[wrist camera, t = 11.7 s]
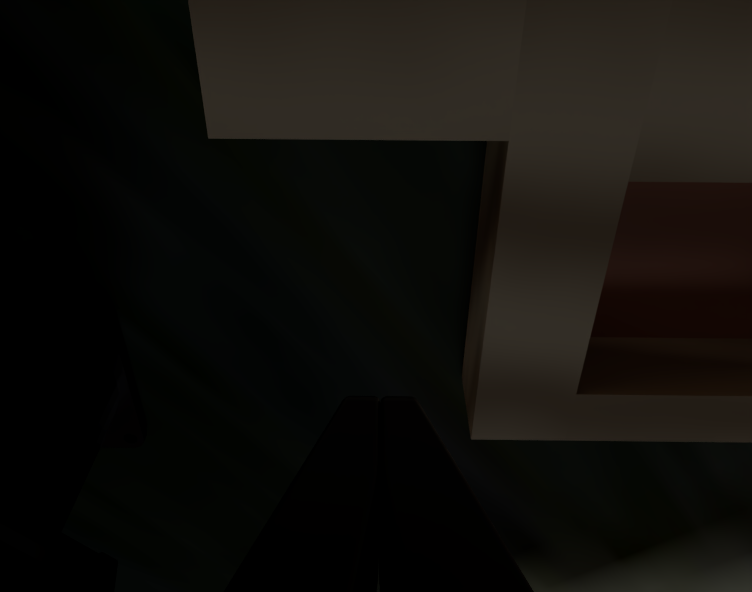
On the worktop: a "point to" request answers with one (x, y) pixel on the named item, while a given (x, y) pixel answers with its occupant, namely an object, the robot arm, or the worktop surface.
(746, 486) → the worktop surface
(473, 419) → the trap deck
